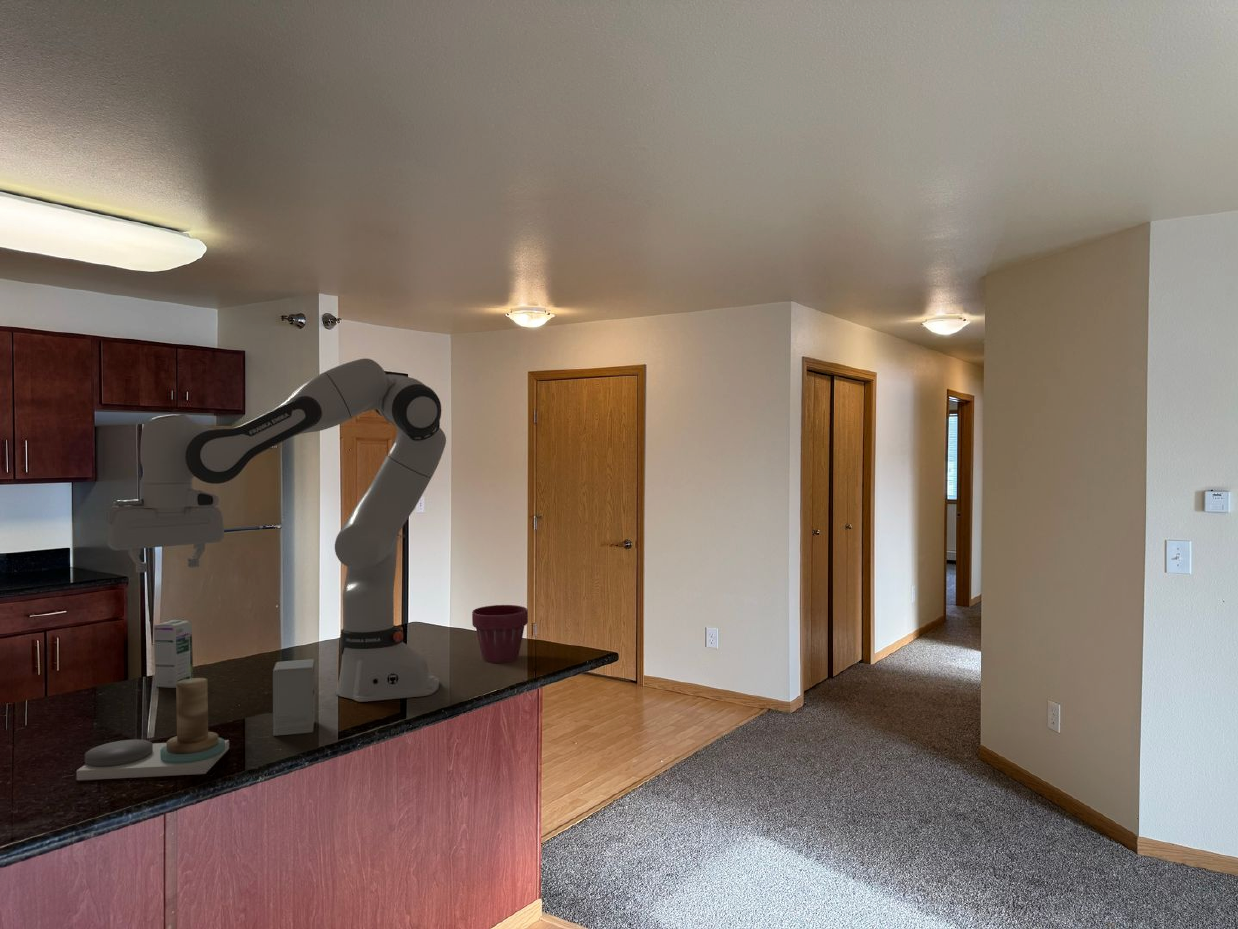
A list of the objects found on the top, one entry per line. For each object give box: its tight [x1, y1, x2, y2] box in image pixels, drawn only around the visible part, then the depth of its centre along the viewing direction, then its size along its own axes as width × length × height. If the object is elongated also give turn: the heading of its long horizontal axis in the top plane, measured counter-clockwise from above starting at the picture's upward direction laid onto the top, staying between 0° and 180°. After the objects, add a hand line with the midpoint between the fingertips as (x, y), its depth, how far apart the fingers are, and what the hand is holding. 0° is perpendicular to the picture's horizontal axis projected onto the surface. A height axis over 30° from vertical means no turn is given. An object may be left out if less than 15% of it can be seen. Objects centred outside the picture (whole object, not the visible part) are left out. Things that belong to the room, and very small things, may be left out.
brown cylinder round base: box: [166, 677, 219, 754], centre depth 146 cm, size 8×8×11 cm
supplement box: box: [272, 658, 316, 737], centre depth 164 cm, size 7×7×13 cm
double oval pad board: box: [76, 736, 230, 781], centre depth 145 cm, size 22×12×3 cm, turn 97°
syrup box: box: [153, 619, 194, 689], centre depth 196 cm, size 6×6×14 cm
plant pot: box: [471, 604, 529, 664], centre depth 218 cm, size 14×14×13 cm
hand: (168, 569), depth 163 cm, fingers open, 8 cm apart
